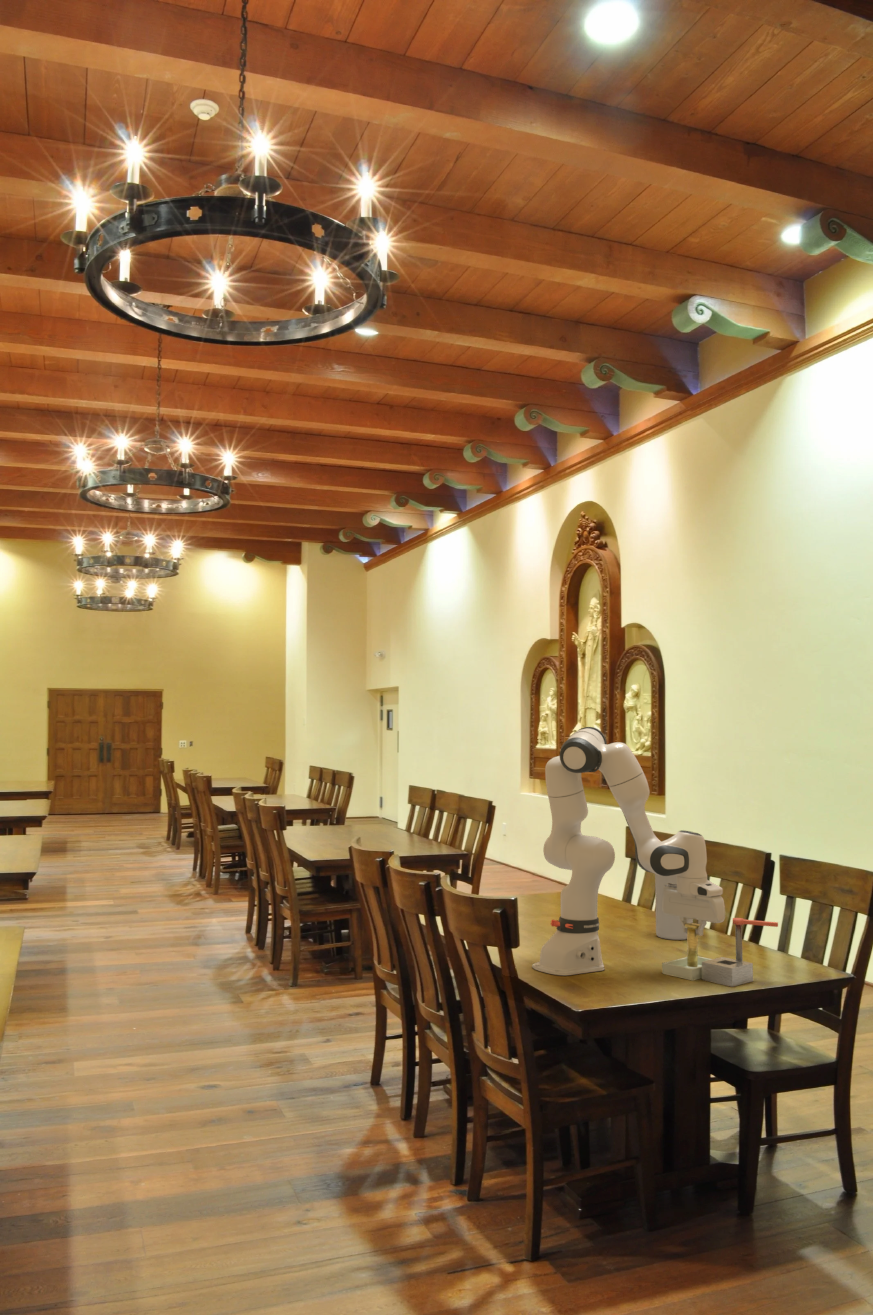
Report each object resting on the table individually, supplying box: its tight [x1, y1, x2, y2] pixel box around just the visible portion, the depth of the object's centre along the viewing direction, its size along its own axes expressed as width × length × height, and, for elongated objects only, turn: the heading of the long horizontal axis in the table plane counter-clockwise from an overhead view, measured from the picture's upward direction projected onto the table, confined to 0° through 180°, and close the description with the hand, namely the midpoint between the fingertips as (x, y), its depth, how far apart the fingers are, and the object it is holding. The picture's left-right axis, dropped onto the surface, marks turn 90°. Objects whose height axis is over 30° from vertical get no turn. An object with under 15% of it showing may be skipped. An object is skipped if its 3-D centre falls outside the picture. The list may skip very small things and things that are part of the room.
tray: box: [661, 955, 712, 981], centre depth 284 cm, size 16×11×3 cm
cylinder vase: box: [654, 874, 694, 941], centre depth 336 cm, size 12×12×25 cm
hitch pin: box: [685, 922, 700, 967], centre depth 284 cm, size 4×4×12 cm
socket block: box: [701, 924, 754, 988], centre depth 276 cm, size 12×10×15 cm
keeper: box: [732, 917, 779, 928], centre depth 278 cm, size 12×3×1 cm, turn 63°
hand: (693, 934), depth 285 cm, fingers closed on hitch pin, 3 cm apart
